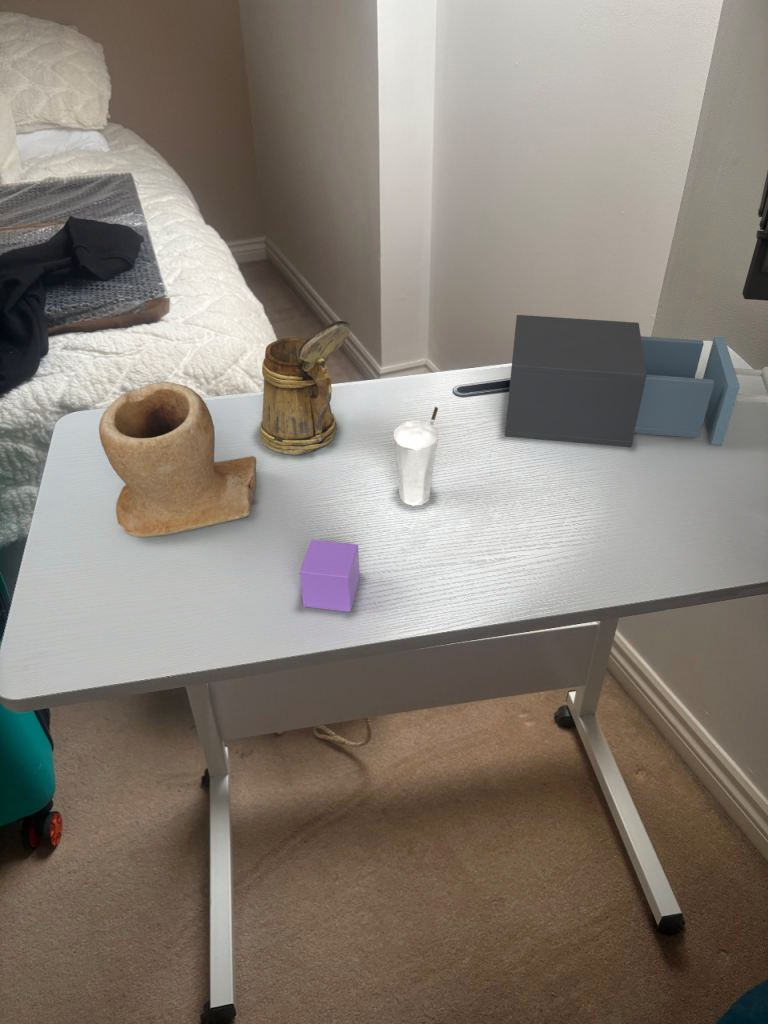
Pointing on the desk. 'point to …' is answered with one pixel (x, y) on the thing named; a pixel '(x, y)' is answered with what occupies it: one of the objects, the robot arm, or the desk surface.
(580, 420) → the cabinet
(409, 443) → the milkshake
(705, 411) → the drawer
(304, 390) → the wooden mug
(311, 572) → the cube
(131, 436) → the stone cup
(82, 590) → the desk surface
